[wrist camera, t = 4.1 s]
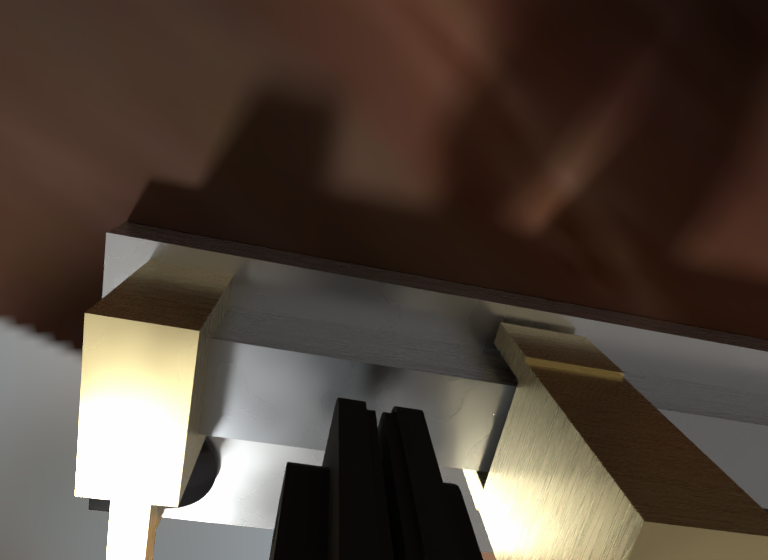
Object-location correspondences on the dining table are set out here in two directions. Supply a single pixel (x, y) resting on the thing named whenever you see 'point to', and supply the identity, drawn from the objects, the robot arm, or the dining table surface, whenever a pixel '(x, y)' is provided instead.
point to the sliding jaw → (602, 468)
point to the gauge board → (417, 315)
